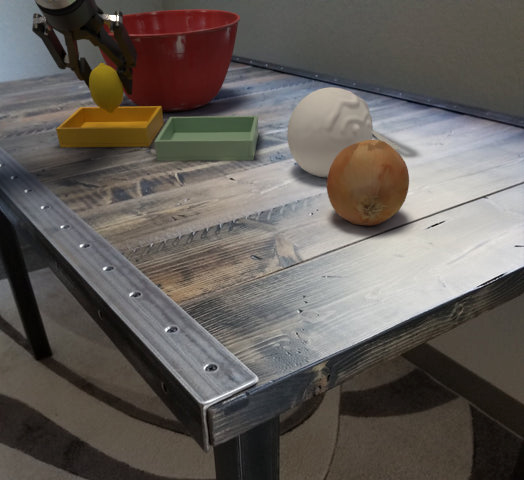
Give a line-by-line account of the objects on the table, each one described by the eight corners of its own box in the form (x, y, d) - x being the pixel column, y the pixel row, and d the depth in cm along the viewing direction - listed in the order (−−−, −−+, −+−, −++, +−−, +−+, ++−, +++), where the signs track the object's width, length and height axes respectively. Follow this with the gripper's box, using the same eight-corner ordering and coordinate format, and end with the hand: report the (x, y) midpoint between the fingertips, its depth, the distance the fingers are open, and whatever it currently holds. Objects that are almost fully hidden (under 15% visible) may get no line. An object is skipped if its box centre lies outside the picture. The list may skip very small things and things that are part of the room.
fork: (401, 159, 90) (402, 148, 89) (330, 119, 108) (331, 109, 107) (418, 156, 91) (420, 145, 90) (346, 117, 109) (346, 107, 108)
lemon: (133, 113, 100) (124, 62, 95) (104, 119, 97) (94, 67, 93) (116, 107, 104) (108, 58, 99) (88, 113, 101) (78, 63, 96)
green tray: (157, 163, 92) (154, 141, 89) (172, 137, 102) (169, 116, 100) (253, 162, 91) (252, 140, 89) (258, 136, 101) (257, 115, 99)
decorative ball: (335, 197, 79) (340, 105, 72) (270, 177, 86) (269, 91, 78) (385, 172, 86) (393, 86, 79) (321, 155, 92) (324, 74, 85)
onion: (390, 203, 77) (399, 125, 71) (415, 236, 69) (427, 151, 63) (318, 208, 76) (321, 130, 70) (335, 242, 68) (339, 157, 62)
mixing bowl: (122, 134, 104) (106, 37, 95) (92, 98, 125) (76, 16, 116) (265, 112, 113) (263, 22, 104) (214, 82, 134) (209, 4, 125)
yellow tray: (60, 150, 98) (55, 128, 96) (84, 126, 109) (80, 107, 107) (149, 149, 97) (146, 127, 95) (164, 125, 108) (161, 106, 106)
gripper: (-10, 14, 79) (59, 108, 101) (124, 11, 77) (164, 106, 100) (-6, -36, 80) (62, 69, 103) (127, -40, 78) (165, 66, 101)
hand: (112, 87), depth 101 cm, fingers closed on lemon, 5 cm apart
